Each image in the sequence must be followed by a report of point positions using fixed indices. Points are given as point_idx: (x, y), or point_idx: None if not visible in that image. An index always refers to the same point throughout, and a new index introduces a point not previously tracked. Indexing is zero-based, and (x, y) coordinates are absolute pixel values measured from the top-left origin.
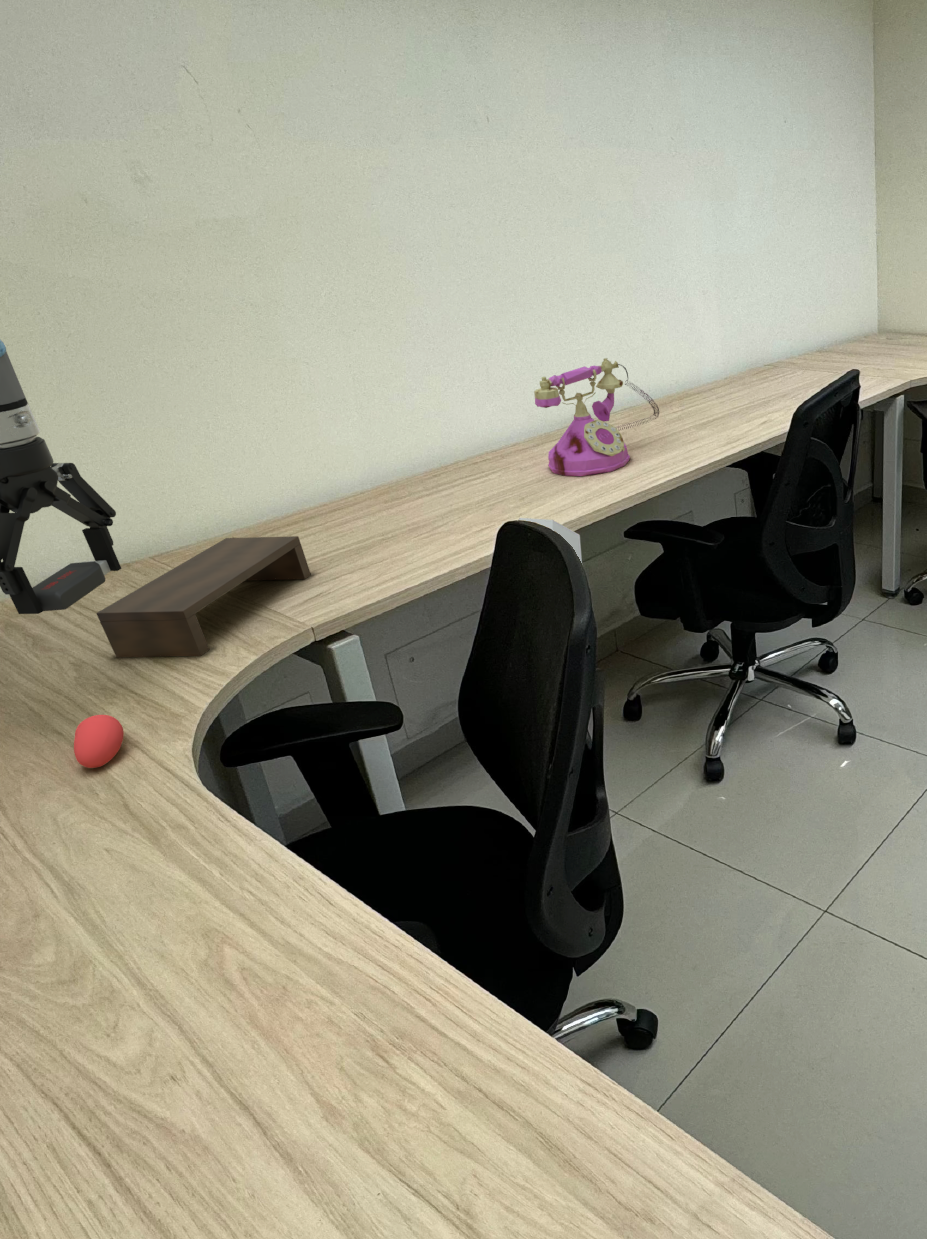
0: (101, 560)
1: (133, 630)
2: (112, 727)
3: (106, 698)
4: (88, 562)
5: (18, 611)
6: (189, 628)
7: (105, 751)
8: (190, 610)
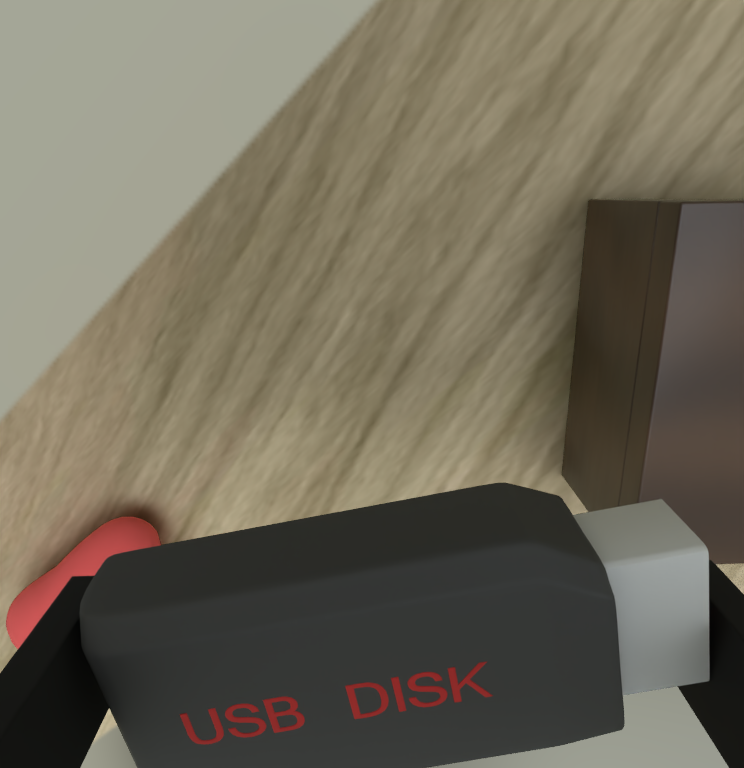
0: (712, 656)
1: (621, 324)
2: None
3: (336, 376)
4: (610, 703)
5: (65, 591)
6: None
7: None
8: None
